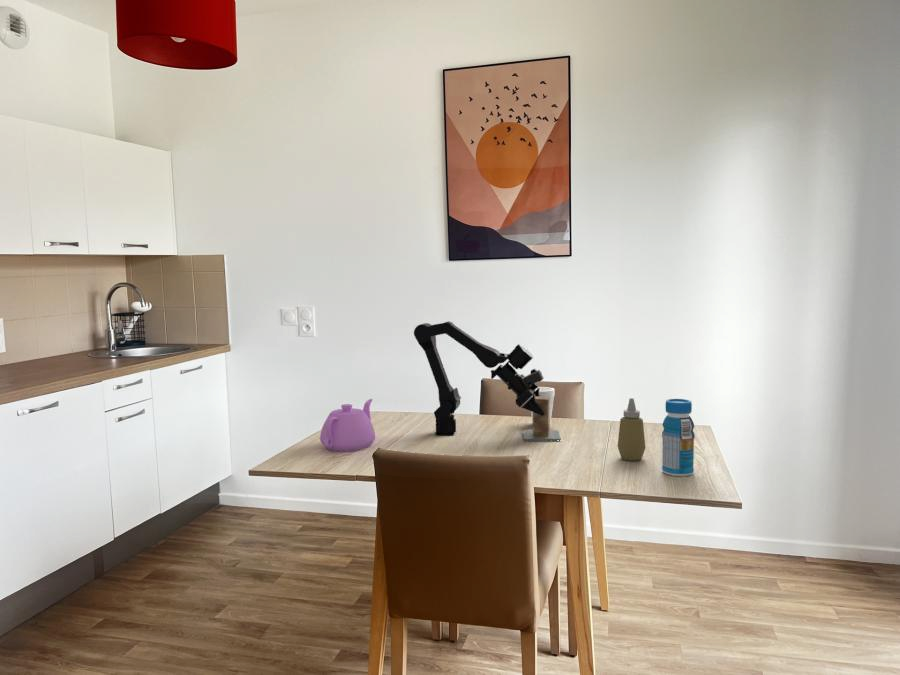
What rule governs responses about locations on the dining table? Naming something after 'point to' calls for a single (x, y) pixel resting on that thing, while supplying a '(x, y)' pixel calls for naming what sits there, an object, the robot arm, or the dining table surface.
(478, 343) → the robot arm
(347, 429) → the teapot
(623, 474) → the dining table surface
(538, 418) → the walnut block
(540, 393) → the foam cup
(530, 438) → the slate coaster
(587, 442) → the dining table surface
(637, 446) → the squeeze bottle
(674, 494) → the dining table surface
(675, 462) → the beverage bottle
